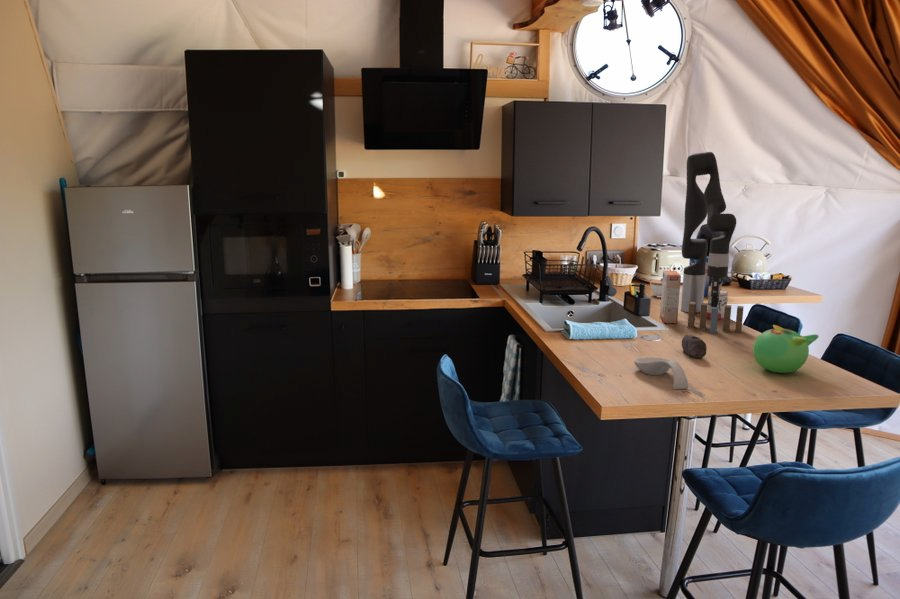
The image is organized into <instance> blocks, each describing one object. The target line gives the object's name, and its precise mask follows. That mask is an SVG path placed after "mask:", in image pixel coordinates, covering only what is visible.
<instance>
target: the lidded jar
mask: <svg viewBox="0 0 900 599" xmlns="http://www.w3.org/2000/svg"><path fill="white" fill-rule="evenodd" d="M662 282H663V277H661V278H660V279H653V280H650V291H651V294H653V296H654V295H655V296H661V295H662ZM655 296H654V297H655Z"/></svg>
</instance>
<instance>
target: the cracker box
mask: <svg viewBox="0 0 900 599" xmlns="http://www.w3.org/2000/svg"><path fill="white" fill-rule="evenodd" d="M662 278H663V282H662V295H661V298H660V309H659V310H660V312H659V317H660V319H661V321H662V323H663V324H671V323H674V324H673V325H675V324H676V325H677V324H678V316H679V314H678V313H679V303H680V292H681V291H680V290H681V280H682V279H681V278H682V276H681V274H680V273H679V272H678V271H676V270H663V271H662Z"/></svg>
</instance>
